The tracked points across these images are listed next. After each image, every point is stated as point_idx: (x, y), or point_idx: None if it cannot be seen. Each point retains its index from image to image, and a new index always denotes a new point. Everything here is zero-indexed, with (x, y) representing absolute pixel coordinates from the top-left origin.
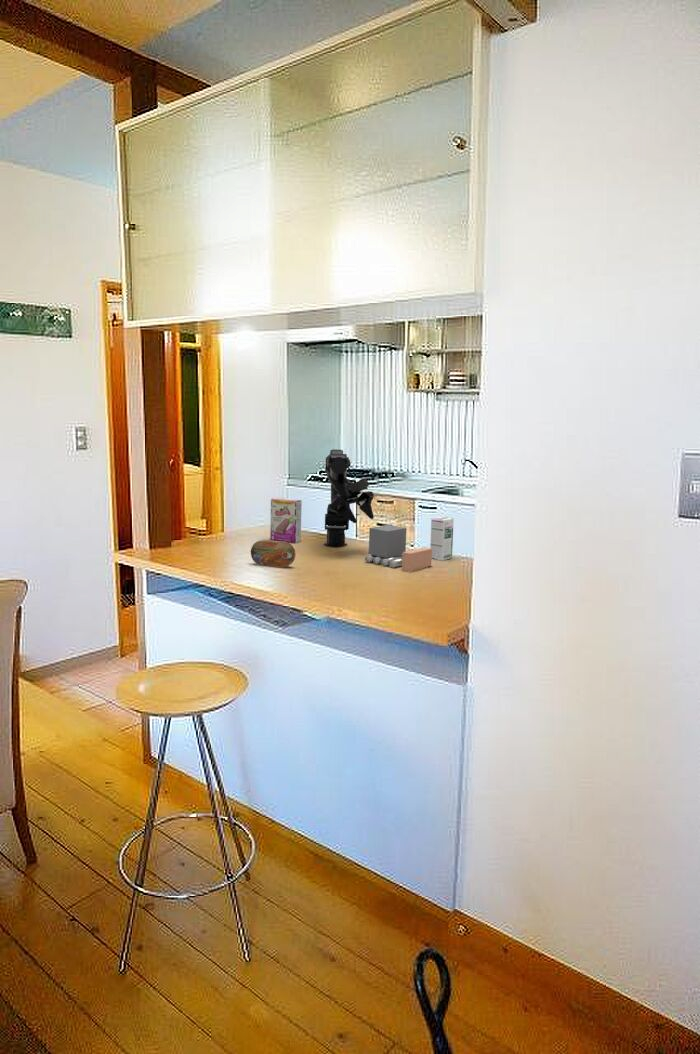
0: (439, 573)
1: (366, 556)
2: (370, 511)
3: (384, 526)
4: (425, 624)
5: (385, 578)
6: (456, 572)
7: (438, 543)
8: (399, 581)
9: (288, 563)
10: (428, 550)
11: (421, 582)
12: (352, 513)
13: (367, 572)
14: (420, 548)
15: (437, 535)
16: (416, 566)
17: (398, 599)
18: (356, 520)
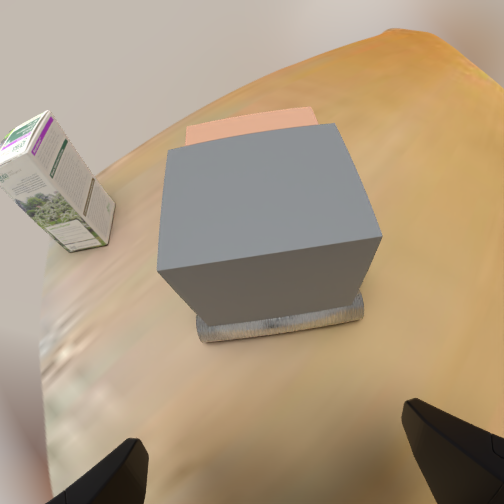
0: None
1: (363, 306)
2: (108, 482)
3: (233, 234)
4: (437, 42)
5: (409, 141)
6: (209, 114)
7: (87, 185)
8: (389, 115)
9: None
10: (207, 124)
11: (348, 95)
12: (467, 444)
13: (429, 200)
14: (214, 138)
15: (71, 171)
16: None
17: (437, 75)
18: (413, 403)
